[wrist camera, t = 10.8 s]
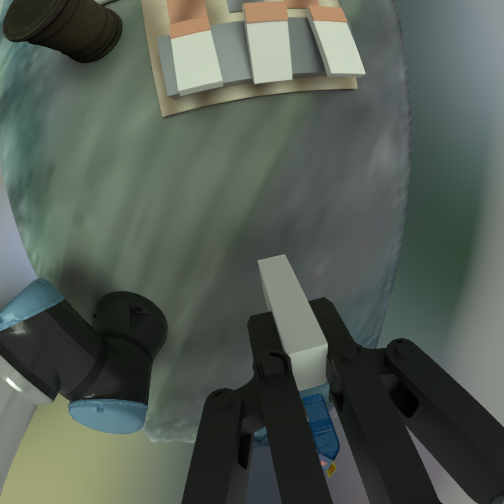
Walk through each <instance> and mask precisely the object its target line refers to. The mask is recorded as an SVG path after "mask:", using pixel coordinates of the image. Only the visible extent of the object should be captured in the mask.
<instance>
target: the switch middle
mask: <svg viewBox="0 0 504 504" xmlns="http://www.w3.org/2000/svg"><path fill="white" fill-rule="evenodd" d="M242 11H243V17H244V24H245V31H246V38H247V44H248V52H249V59H250V66H251V73H252V81H253V83H254V84H258V83H265V82H273V81H283V80H293V79H292V65H291V53H290V42H289V31H288V21H287V20H288V13H287V5H286V1H273V2H255V3H244V4H242Z"/></svg>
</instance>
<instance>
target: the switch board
mask: <svg viewBox="0 0 504 504" xmlns="http://www.w3.org/2000/svg"><path fill="white" fill-rule="evenodd" d="M273 1H286V5H287V13H288V17H307V16H306V13H305V10H306V9H307V7H308V6H326V7H338V8H340V6H339V3H338V0H141V3H142V10H143V17H144V23H145V30H146V36H147V42H148V48H149V53H150V59H151V64H152V69H153V74H154V79H155V84H156V89H157V94H158V99H159V103H160V108H161V112H162V117H166V116H170V115H173V114H177V113H181V112H184V111H188V110H192V109H196V108H200V107H205V106H209V105H214V104H218V103H223V102H228V101H234V100H239V99H245V98H251V97H258V96H264V95H272V94H280V93H290V92H300V91H314V90H334V89H358V88H357V82H356V77H328V76H320V77H301V78H292V79H293V80H283V81H273V82H265V83H258V84H254V83H247V84H241V85H235V86H229V87H224V88H219V89H214V90H209V91H205V92H201V93H196V94H192V95H188V96H184V97H180V98H177V99H172V98H170V97H168V95H167V90H166V85H165V81H164V76H163V71H162V66H161V60H160V55H159V50H158V44H157V38H160V37H163V36H167V35H170V31H169V25H170V24H174V23H177V22H181V21H186V20H190V19H195V18H199V17H204V16H208V20H209V24H210V25H215V24H221V23H228V22H235V21H243V20H244V17H243V11H242V4H244V3H255V2H273Z"/></svg>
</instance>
